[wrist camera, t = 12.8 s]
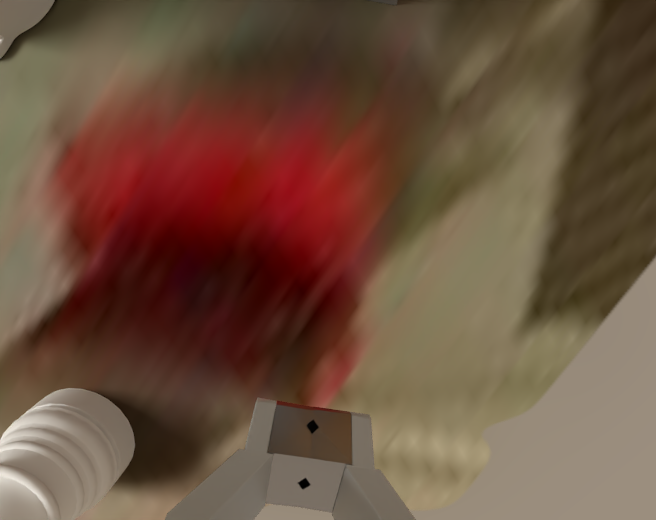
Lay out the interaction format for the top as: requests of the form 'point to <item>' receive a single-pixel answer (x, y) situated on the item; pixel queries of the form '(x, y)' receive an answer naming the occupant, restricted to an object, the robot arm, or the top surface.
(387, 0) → the block
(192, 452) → the top surface
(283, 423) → the robot arm
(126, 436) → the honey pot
